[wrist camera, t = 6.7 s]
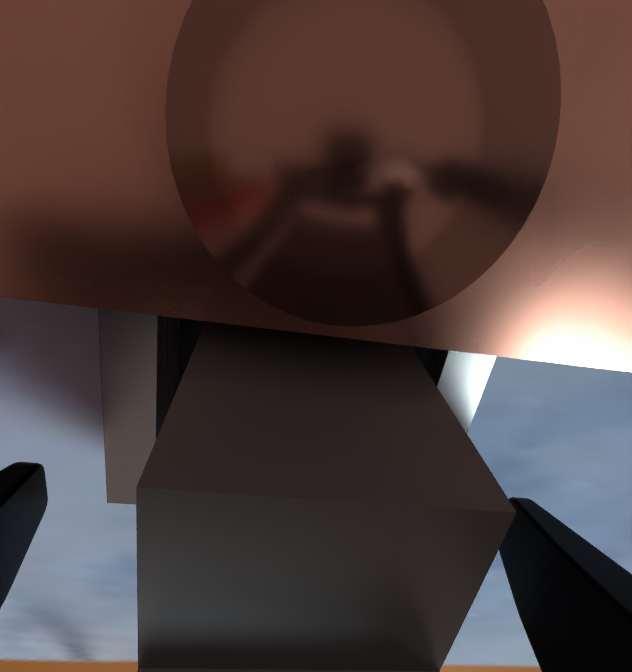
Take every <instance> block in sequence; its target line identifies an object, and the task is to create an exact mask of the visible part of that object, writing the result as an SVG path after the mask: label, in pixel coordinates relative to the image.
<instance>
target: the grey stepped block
mask: <svg viewBox="0 0 632 672" xmlns="http://www.w3.org/2000/svg"><path fill="white" fill-rule="evenodd" d="M136 511H137V603H138V671H137V672H440V669H441V667H442V665H443V663H444V660H445V658H446V656H447V654H448V652H449V650H450V648H451V646H452V644H453V642H454V640H455V638H456V636H457V634H458V632H459V630H460V628H461V626H462V624H463V621H464V619H465V617H466V615H467V613H468V611H469V609H470V607H471V605H472V603H473V601H474V599H475V597H476V595H477V593H478V591H479V589H480V587H481V585H482V582H483V580H484V578H485V576H486V574H487V572H488V570H489V568H490V566H491V564H492V562H493V560H494V558H495V556H496V554H497V552H498V550H499V548H500V545H501V543H502V541H503V539H504V537H505V535H506V533H507V531H508V529H509V527H510V525H511V523H512V521H513V519H514V517H515V515H516V513H517V512H516V511H515V509H514V507H513V506H512V504H511V503H510V501H509V500H508V498H507V496H506V495H505V493H504V492H503V490H502V489H501V487H500V485H499V484H498V482H497V481H496V479H495V478H494V476H493V474H492V473H491V471H490V470H489V468H488V467H487V465H486V463H485V462H484V460H483V459H482V457H481V456H480V454H479V452H478V451H477V449H476V448H475V446H474V444H473V443H472V441H471V440H470V438H469V437H468V435H467V433H466V432H465V430H464V429H463V427H462V426H461V424H460V422H459V421H458V419H457V418H456V416H455V415H454V413H453V411H452V410H451V408H450V407H449V405H448V404H447V402H446V400H445V399H444V397H443V396H442V394H441V393H440V391H439V389H438V388H437V386H436V385H435V383H434V382H433V380H432V378H431V377H430V375H429V374H428V372H427V371H426V369H425V367H424V366H423V364H422V363H421V361H420V360H419V358H418V356H417V355H416V353H415V352H414V350H413V349H412V347H411V346H408V345H400V344H391V343H383V342H375V341H366V340H358V339H350V338H341V337H333V336H325V335H316V334H308V333H300V332H291V331H283V330H274V329H266V328H258V327H249V326H241V325H233V324H224V323H216V322H208V321H205V324H204V326H203V329H202V331H201V333H200V336H199V338H198V341H197V343H196V345H195V348H194V350H193V353H192V355H191V357H190V360H189V362H188V365H187V367H186V369H185V372H184V374H183V377H182V379H181V381H180V384H179V386H178V388H177V391H176V393H175V396H174V398H173V400H172V403H171V405H170V408H169V410H168V412H167V415H166V417H165V420H164V422H163V424H162V427H161V429H160V432H159V434H158V436H157V439H156V441H155V444H154V446H153V448H152V451H151V453H150V456H149V458H148V460H147V463H146V465H145V468H144V470H143V472H142V475H141V477H140V480H139V482H138V484H137V487H136Z"/></svg>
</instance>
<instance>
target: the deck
mask: <svg viewBox="0 0 632 672" xmlns="http://www.w3.org/2000/svg"><path fill="white" fill-rule="evenodd" d="M0 297H7V298H16V299H24V300H32V301H41V302H49V303H58V304H66V305H74V306H83V307H91V308H98V322H99V342H100V363H101V384H102V404H103V425H104V446H105V466H106V487H107V503H122V504H136V487H137V484H138V482H139V480H140V477H141V475H142V472H143V470H144V468H145V465H146V463H147V460H148V458H149V456H150V453H151V451H152V448H153V446H154V444H155V441H156V439H157V436H158V434H159V432H160V429H161V427H162V424H163V422H164V420H165V417H166V415H167V412H168V410H169V408H170V405H171V403H172V400H173V398H174V396H175V393H176V391H177V387H178V360H179V333H180V318H183V319H191V320H199V321H208V322H216V323H224V324H233V325H241V326H249V327H258V328H266V329H274V330H283V331H291V332H300V333H308V334H316V335H325V336H333V337H341V338H350V339H358V340H366V341H375V342H383V343H391V344H400V345H408V346H411V347H412V349H413V350H414V352H415V353H416V355H417V356H418V358H419V360H420V361H421V363H422V364H423V366H424V367H425V369H426V371H427V372H428V374H429V375H430V377H431V378H432V380H433V382H434V383H435V385H436V386H437V388H438V389H439V391H440V393H441V394H442V396H443V397H444V399H445V400H446V402H447V404H448V405H449V407H450V408H451V410H452V411H453V413H454V415H455V416H456V418H457V419H458V421H459V422H460V424H461V426H462V427H463V429H464V430H465V432H466V433H467V432H468V429H469V427H470V424H471V422H472V419H473V416H474V414H475V411H476V409H477V406H478V403H479V401H480V398H481V395H482V393H483V390H484V388H485V385H486V382H487V380H488V377H489V375H490V372H491V369H492V367H493V364H494V361H495V359H496V356H500V357H508V358H516V359H525V360H533V361H542V362H550V363H558V364H567V365H575V366H583V367H592V368H600V369H608V370H617V371H625V372H632V0H0Z"/></svg>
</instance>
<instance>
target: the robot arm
mask: <svg viewBox="0 0 632 672" xmlns="http://www.w3.org/2000/svg"><path fill="white" fill-rule="evenodd" d="M508 500H509V501H510V503H511V504H512V506H513V507H514V509H515V511H516V512H517V513H516V515H515V517H514V519H513V521H512V523H511V525H510V527H509V529H508V531H507V533H506V535H505V537H504V539H503V541H502V543H501V545H500V548H499V552H500V555H501V558H502V561H503V565H504V568H505V571H506V575H507V578H508V581H509V584H510V588H511V591H512V594H513V597H514V601H515V604H516V607H517V610H518V613H519V616H520V618H521V621H522V623H523V626H524V629H525V631H526V634H527V636H528V639H529V641H530V643H531V646H532V648H533V651H534V653H535V656H536V658H537V661H538V663H539V666H540V668H541V671H542V672H632V574H631V573H629V572H628V571H627V570H625V569H624V568H622V567H621V566H620V565H618V564H617V563H616V562H614V561H613V560H612V559H610V558H609V557H608V556H606V555H605V554H604V553H602V552H601V551H600V550H598V549H597V548H596V547H594V546H593V545H591V544H590V543H589V542H587V541H586V540H585V539H583V538H582V537H581V536H579V535H578V534H577V533H575V532H574V531H573V530H571V529H570V528H569V527H567V526H566V525H565V524H563V523H562V522H560V521H559V520H558V519H556V518H555V517H554V516H552V515H551V514H550V513H548V512H547V511H546V510H544V509H543V508H542V507H540V506H539V505H538V504H536V503H535V502H534V501H532V500H530V499H527V498H516V497H512V498H509V499H508ZM47 501H48V495H47V487H46V479H45V471H44V467H43V466H42V465H41V464H39V463H29V462H16V463H13V464H11V465H10V466H8V467H6V468H4V469H3V470H1V471H0V608H1V606H2V604H3V603H4V601H5V599H6V597H7V595H8V593H9V590H10V588H11V586H12V584H13V582H14V580H15V577H16V575H17V573H18V571H19V568H20V566H21V564H22V562H23V559H24V557H25V555H26V553H27V551H28V548H29V546H30V544H31V542H32V539H33V537H34V535H35V533H36V530H37V528H38V526H39V524H40V521H41V519H42V517H43V515H44V512H45V510H46V507H47Z"/></svg>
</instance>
